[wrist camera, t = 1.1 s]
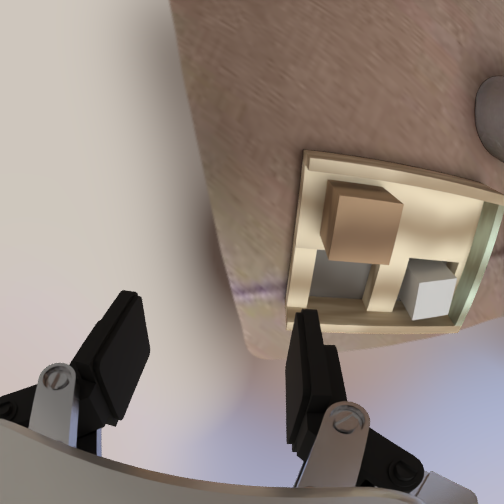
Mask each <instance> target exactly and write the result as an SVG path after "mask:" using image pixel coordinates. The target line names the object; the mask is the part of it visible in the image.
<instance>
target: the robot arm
mask: <svg viewBox="0 0 504 504" xmlns="http://www.w3.org/2000/svg"><path fill="white" fill-rule="evenodd" d="M149 355H150V345H149V339H148V333H147V328H146V322H145V316H144V309H143V303H142V298H141V297H140V296H138V294H137V293H136V292H131V291H125V290H123V291H121V292H120V293H119V295H118V296H117V298H116V299H115V301H114V302H113V303H112V305H111V306H110V308H109V309H108V311H107V312H106V313H105V315H104V316H103V318H102V319H101V320H100V321H98V322H97V324H96V325H95V327H94V328H93V330H92V331H91V333H90V334H89V335H88V337H87V338H86V340H85V342H84V343H83V344H82V346H81V348H80V349H79V351H78V352H77V354H76V355H75V357H74V358H73V360H72V361H71V363H70V365H67V364H65V363H55V364H52V365H49V366H48V367H46V368H45V369H44V370H43V371H42V372H41V374H40V376H39V380H38V384H37V385H33V386H31V387H28V388H25V389H22V390H19V391H16V392H13V393H10V394H7V395H4V396H2V397H0V504H478V502H477V497H476V495H475V494H474V493H473V492H472V491H471V490H469V489H467V488H465V487H463V486H461V485H459V484H457V483H455V482H452V481H451V480H449V479H447V478H445V477H442V476H440V475H439V474H436V473H435V472H433V471H431V472H430V473H428V472H426V471H424V468H423V465H422V463H421V462H420V460H419V459H417V458H416V457H415V456H413V455H412V454H410V453H408V452H407V451H405V450H404V449H402V448H401V447H399V446H397V445H396V444H394V443H393V442H391V441H389V440H388V439H386V438H385V437H383V436H382V435H380V434H379V433H377V432H376V431H374V430H373V429H371V428H370V427H369V426H370V418H369V415H368V413H367V412H366V410H365V409H364V408H363V407H361V406H360V405H358V404H356V403H353V402H348V401H347V397H346V392H345V387H344V382H343V377H342V372H341V367H340V362H339V357H338V352H337V348H336V346H335V345H324V344H323V338H322V332H321V327H320V321H319V316H318V311H317V309H302V310H301V312H296V314H295V319H294V324H293V330H292V335H291V340H290V346H289V351H288V356H287V361H286V370H285V375H286V426H287V427H286V429H287V430H286V431H287V444H292V452H297V456H298V457H299V458H301V459H302V460H303V464H302V466H301V469H300V471H299V473H298V476H297V478H296V481H295V483H294V485H293V488H287V487H260V486H245V485H235V484H226V483H217V482H209V481H203V480H196V479H189V478H184V477H179V476H174V475H169V474H164V473H159V472H155V471H150V470H146V469H142V468H138V467H134V466H131V465H127V464H123V463H120V462H116V461H113V460H110V459H106V458H103V457H102V454H101V453H102V452H101V451H102V450H101V428H103V427H104V426H105V424H108V425H112V426H115V427H116V425H117V422H118V420H122V419H123V417H124V415H125V413H126V410H127V408H128V405H129V403H130V400H131V398H132V395H133V393H134V391H135V388H136V386H137V383H138V381H139V379H140V376H141V374H142V371H143V369H144V367H145V364H146V362H147V360H148V357H149Z"/></svg>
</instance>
